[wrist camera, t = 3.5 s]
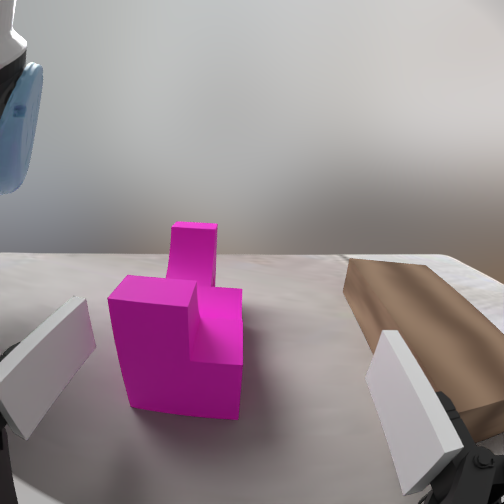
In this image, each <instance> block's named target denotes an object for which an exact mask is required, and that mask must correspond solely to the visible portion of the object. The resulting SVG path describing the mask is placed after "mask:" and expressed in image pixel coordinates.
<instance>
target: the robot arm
mask: <svg viewBox="0 0 504 504" xmlns="http://www.w3.org/2000/svg"><path fill="white" fill-rule="evenodd" d="M15 3H16V0H0V195H3V194H8V193H11V192H14V191H15V190H17V189H18V188H19V187H20V185H21V184H22V183H23V181H24V179H25V176H26V174H27V171H28V167H29V163H30V158H31V153H32V148H33V141H34V136H35V130H36V125H37V118H38V112H39V106H40V99H41V93H42V84H43V75H42V74H43V68H42V66H41V65H39V64H35V63H34V62H32V63H29V64H28V65H26V48H27V45H26V44H27V43H26V41H25V40H24V39H23V38H22V37H21V36H19V35H18V34H17V33H16V32H15V31H14V30H13V28H12V24H13V16H14V10H15ZM95 348H96V344H95V340H94V336H93V331H92V326H91V322H90V317H89V312H88V306H87V301H86V298H81V297H77V296H73V297H72V298H70V299H69V300H68V301H67V302H66V303H65V304H63V305H62V306H61V307H60V308H59V309H57V310H56V311H55V312H54V313H53V314H52V315H51V316H49V317H48V318H47V319H46V320H45V321H44V322H43V323H42V324H40V325H39V326H38V327H37V328H36V329H35V330H34V331H33V332H32V333H30V334H29V335H28V336H27V337H26V338H25V339H24V340H23V341H22V342H19V343H17V344H15V345H13V346H11V347H10V348H8V349H7V350H6V351H5V352H4V353H3V355H1V356H0V504H18V501H17V497H16V492H15V487H14V482H13V477H12V471H11V464H10V457H9V449H8V440H7V432H6V429H5V428H4V427H5V425H6V424H8V425H9V427H10V428H11V430H12V431H13V433H15V434H16V435H18V436H20V437H21V438H23V439H25V440H26V441H27V440H28V439H29V437H30V436H31V434H32V433H33V431H34V430H35V428H36V427H37V425H38V424H39V422H40V421H41V420H42V418H43V417H44V415H45V414H46V413H47V411H48V410H49V408H50V407H51V406H52V404H53V403H54V401H55V400H56V399H57V397H58V396H59V395H60V393H61V392H62V391H63V389H64V388H65V387H66V385H67V384H68V383H69V381H70V380H71V379H72V377H73V376H74V375H75V373H76V372H77V371H78V369H79V368H80V367H81V366H82V364H83V363H84V362H85V360H86V359H87V358H88V357H89V355H90V354H91V353H92V352H93V350H94V349H95ZM365 379H366V382H367V385H368V387H369V390H370V393H371V396H372V398H373V401H374V404H375V407H376V410H377V413H378V416H379V419H380V422H381V425H382V428H383V431H384V434H385V437H386V440H387V443H388V446H389V449H390V452H391V456H392V459H393V462H394V465H395V469H396V472H397V476H398V479H399V482H400V486H401V489H402V493H403V496H405V495H409V494H413V493H416V492H420V491H422V490H423V489H424V488H425V487H426V486H428V485H429V484H431V487H432V490H431V491H430V492H429V493H428V494H426V495H425V496H424V497H423V498H422V499H421V500H420V501H419V502H418V504H421V503H422V502H423V501H425V502H424V504H504V502H503V503H502V502H501V497H502V496H503V495H504V455H494V454H493V453H492V452H491V451H490V450H489V449H487V448H485V447H480V446H479V447H477V446H476V444H475V442H474V440H473V438H472V437H471V435H470V433H469V431H468V429H467V427H466V425H465V424H464V422H463V420H462V418H460V415H459V413H458V411H456V408H455V406H454V404H453V402H452V401H451V399H450V398H449V397H448V396H446V395H445V394H444V393H443V392H442V391H439V392H435V391H434V390H433V388H432V386H431V384H430V383H429V381H428V379H427V378H426V376H425V374H424V372H423V371H422V369H421V367H420V366H419V364H418V362H417V361H416V359H415V357H414V356H413V354H412V353H411V351H410V349H409V348H408V346H407V345H406V343H405V341H404V340H403V338H402V337H401V335H400V333H399V332H398V330H382V333H381V336H380V339H379V342H378V344H377V347H376V350H375V353H374V356H373V358H372V361H371V364H370V366H369V369H368V372H367V374H366V377H365Z"/></svg>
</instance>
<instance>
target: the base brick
mask: <svg viewBox="0 0 504 504" xmlns="http://www.w3.org/2000/svg"><path fill="white" fill-rule="evenodd" d="M343 293H344V295H345V297H346V299H347V301H348V303H349V305H350V307H351V309H352V311H353V313H354V315H355V317H356V319H357V321H358V323H359V325H360V328H361V330H362V332H363V334H364V336H365V338H366V340H367V342H368V344H369V346H370V349H371V351H372V353H373V355H374V353H375V350H376V347H377V344H378V342H379V339H380V336H381V333H382V330H398V332H399V333H400V335H401V337H402V338H403V340H404V341H405V343H406V345H407V346H408V348H409V349H410V351H411V353H412V354H413V356H414V357H415V359H416V361H417V362H418V364H419V366H420V367H421V369H422V371H423V372H424V374H425V376H426V378H427V379H428V381H429V383H430V384H431V386H432V388H433V390H434V391H435V392H439V391H442V392H443V393H444V394H445V395H446V396H448V397H449V398H450V399H451V401H452V402H453V404H454V406H455V408H456V411H458V413H459V415H460V418H462V420H463V422H464V424H465V425H466V427H467V429H468V431H469V433H470V435H471V437H472V438H473V440H474V442H475V443H477V442H480V441H483V440H485V439H488V438H490V437H493V436H495V435H498V434H500V433H502V432H504V334H503V333H502V332H501V331H500V330H499V329H498V328H497V327H496V326H495V325H494V324H492V323H491V322H490V321H489V320H488V319H487V318H486V317H485V316H484V315H483V314H482V313H481V312H480V311H479V310H477V309H476V308H475V307H474V306H473V305H472V304H471V303H470V302H469V301H467V300H466V299H465V298H464V297H463V296H462V295H461V294H459V293H458V292H457V291H456V290H455V289H454V288H452V287H451V286H450V285H449V284H448V283H447V282H445V281H444V280H443V279H442V278H441V277H439V276H438V275H437V274H436V273H434V272H433V271H432V270H431V269H430V268H428V267H427V266H426V265H416V264H406V263H395V262H385V261H374V260H363V259H353V258H350V259H349V264H348V269H347V274H346V279H345V284H344V288H343Z"/></svg>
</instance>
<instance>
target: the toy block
mask: <svg viewBox="0 0 504 504" xmlns="http://www.w3.org/2000/svg"><path fill="white" fill-rule="evenodd" d="M217 226H218V224H212V223H195V222H176V223H175V224H174V225H173V226H172V227H171V244H170V254H169V262H168V269H167V274H166V278H156V277H144V276H133V275H127V276H126V277H125V278H124V279H123V281H122V282H121V283H120V284H119V285H118V286H117V288H116V289H115V290H114V291H113V292H112V293H111V295H110V296H109V297H108V305H109V312H110V318H111V323H112V329H113V334H114V339H115V344H116V349H117V354H118V359H119V363H120V367H121V372H122V376H123V380H124V384H125V387H126V391H127V395H128V399H129V402H130V406H131V407H134V408H139V409H145V410H151V411H157V412H163V413H170V414H177V415H185V416H194V417H204V418H216V419H231V420H238V418H239V406H240V393H241V381H242V369H243V320H242V289H237V288H222V287H215V275H216V248H217Z"/></svg>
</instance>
